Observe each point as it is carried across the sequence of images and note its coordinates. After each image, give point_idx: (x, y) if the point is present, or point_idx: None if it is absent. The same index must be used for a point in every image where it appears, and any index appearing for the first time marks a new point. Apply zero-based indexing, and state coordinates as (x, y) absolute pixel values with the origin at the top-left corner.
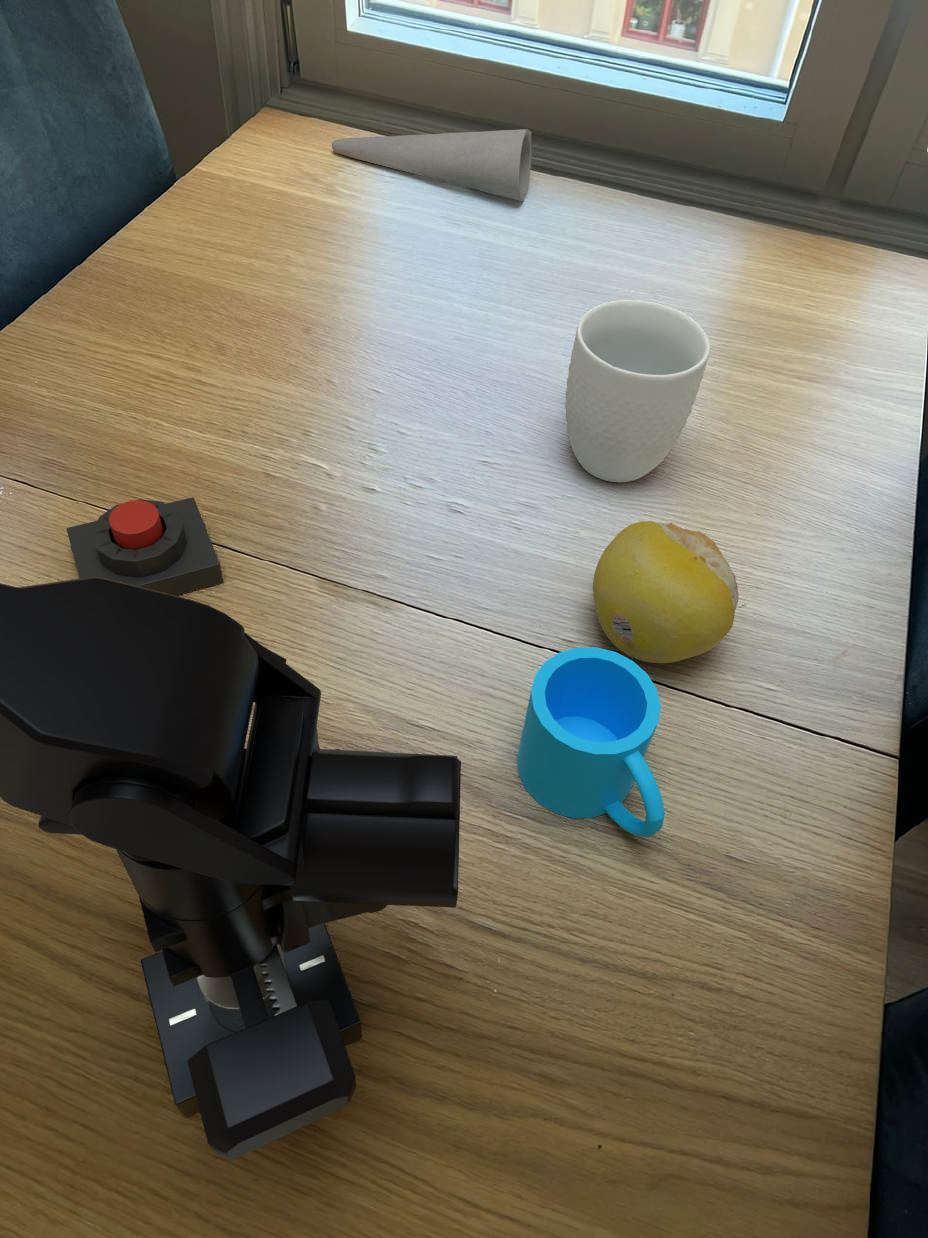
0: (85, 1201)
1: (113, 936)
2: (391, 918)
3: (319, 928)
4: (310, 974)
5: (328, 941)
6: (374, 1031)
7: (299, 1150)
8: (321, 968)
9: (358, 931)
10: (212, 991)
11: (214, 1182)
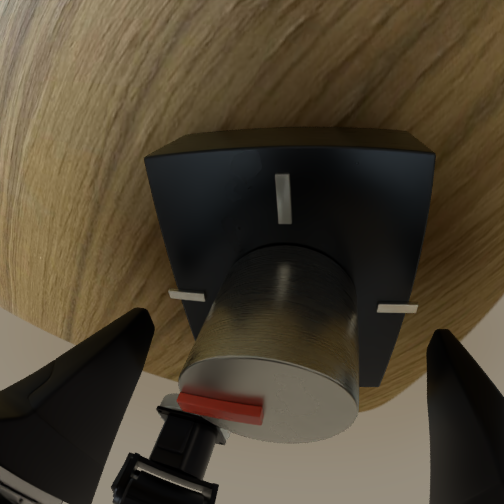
0: (384, 392)
1: (176, 337)
2: (228, 20)
3: (215, 163)
4: (303, 207)
5: (247, 153)
6: (405, 109)
7: (473, 256)
8: (299, 184)
9: (233, 76)
10: (295, 438)
11: (440, 328)
